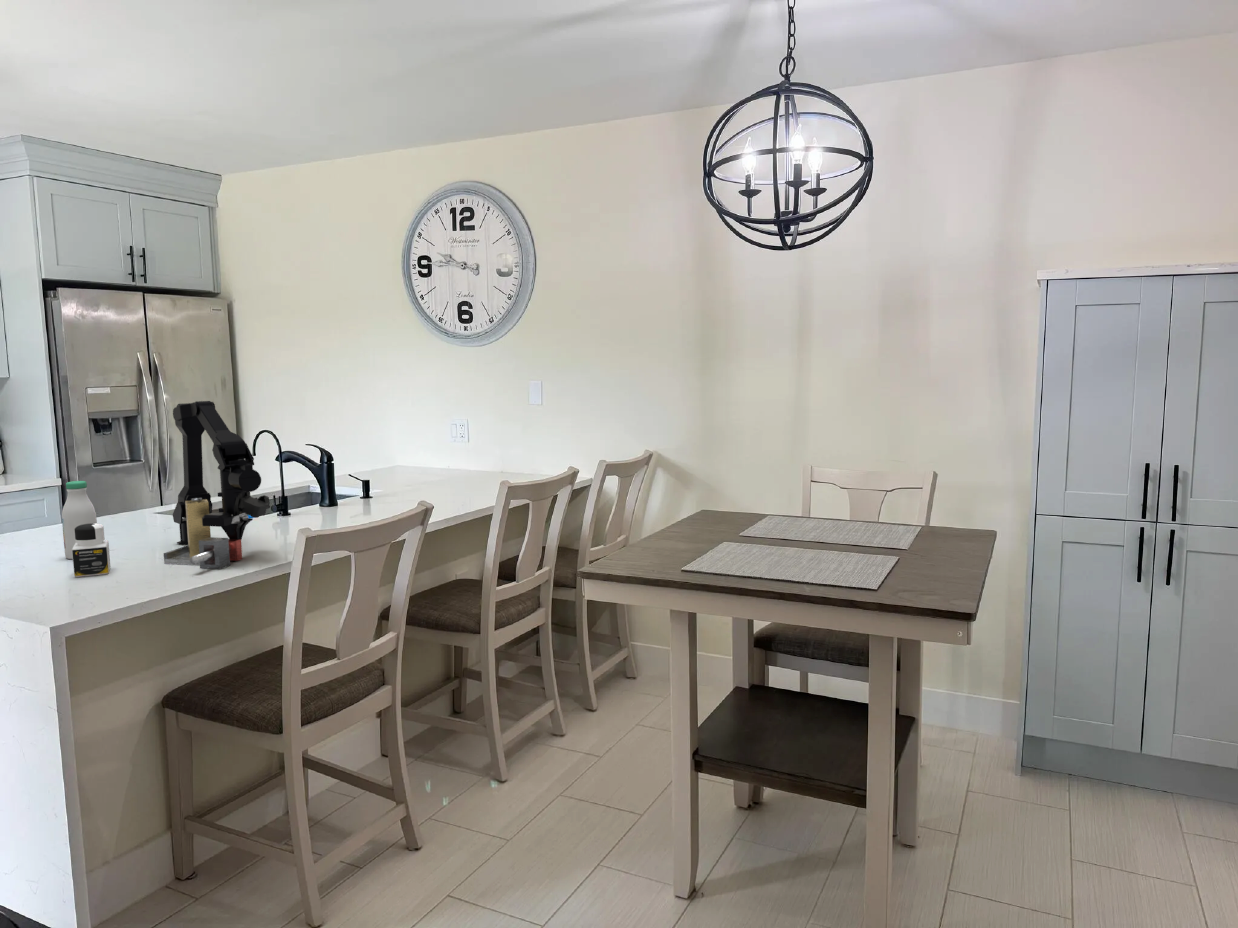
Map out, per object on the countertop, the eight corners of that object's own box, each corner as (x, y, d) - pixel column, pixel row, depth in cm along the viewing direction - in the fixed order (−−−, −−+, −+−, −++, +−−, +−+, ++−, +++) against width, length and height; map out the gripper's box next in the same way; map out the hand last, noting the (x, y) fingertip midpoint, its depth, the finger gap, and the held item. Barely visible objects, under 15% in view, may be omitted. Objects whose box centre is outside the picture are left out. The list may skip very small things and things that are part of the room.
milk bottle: (106, 554, 228) (100, 480, 225) (80, 560, 221) (73, 484, 218) (85, 552, 230) (78, 479, 228) (58, 558, 223) (51, 483, 220)
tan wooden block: (188, 553, 223) (185, 497, 221) (210, 551, 225) (206, 496, 223) (190, 557, 219) (186, 500, 217) (212, 555, 221) (208, 498, 219)
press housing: (200, 568, 213) (198, 540, 212) (210, 564, 216) (208, 537, 216) (220, 569, 212) (218, 541, 211) (230, 565, 215) (228, 538, 215)
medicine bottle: (74, 577, 204) (69, 528, 202) (77, 571, 210) (73, 523, 209) (108, 574, 207) (104, 525, 206) (110, 567, 214) (106, 520, 212)
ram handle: (185, 572, 207) (184, 551, 206) (225, 558, 222) (223, 538, 221) (203, 573, 206) (202, 552, 205) (242, 558, 221) (241, 539, 220)
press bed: (164, 563, 217) (163, 553, 217) (196, 552, 229) (195, 542, 229) (206, 565, 215) (205, 555, 215) (235, 554, 227) (235, 544, 226)
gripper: (238, 494, 210) (242, 556, 212) (282, 483, 228) (285, 540, 230) (198, 493, 212) (202, 554, 214) (244, 482, 230) (248, 538, 232)
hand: (237, 546), depth 222 cm, fingers closed
